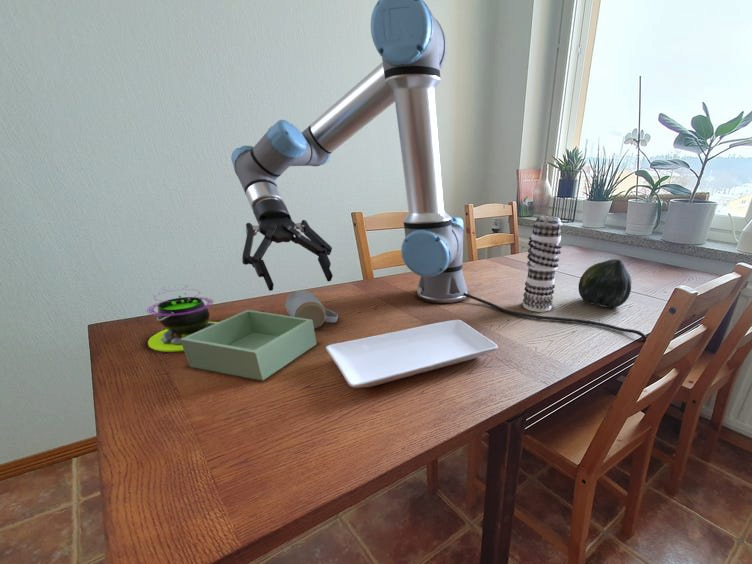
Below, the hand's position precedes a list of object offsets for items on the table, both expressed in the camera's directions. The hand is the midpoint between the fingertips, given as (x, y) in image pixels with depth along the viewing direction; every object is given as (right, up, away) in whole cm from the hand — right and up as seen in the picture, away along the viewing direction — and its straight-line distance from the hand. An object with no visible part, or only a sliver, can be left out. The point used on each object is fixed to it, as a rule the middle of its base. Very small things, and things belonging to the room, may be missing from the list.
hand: (302, 283), depth 89 cm
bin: (-3, -17, -13) cm, 22 cm away
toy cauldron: (-21, -13, -7) cm, 26 cm away
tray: (+29, -19, -11) cm, 36 cm away
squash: (+80, -1, +26) cm, 84 cm away
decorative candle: (+59, -3, +21) cm, 63 cm away
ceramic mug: (+2, -10, +2) cm, 10 cm away
